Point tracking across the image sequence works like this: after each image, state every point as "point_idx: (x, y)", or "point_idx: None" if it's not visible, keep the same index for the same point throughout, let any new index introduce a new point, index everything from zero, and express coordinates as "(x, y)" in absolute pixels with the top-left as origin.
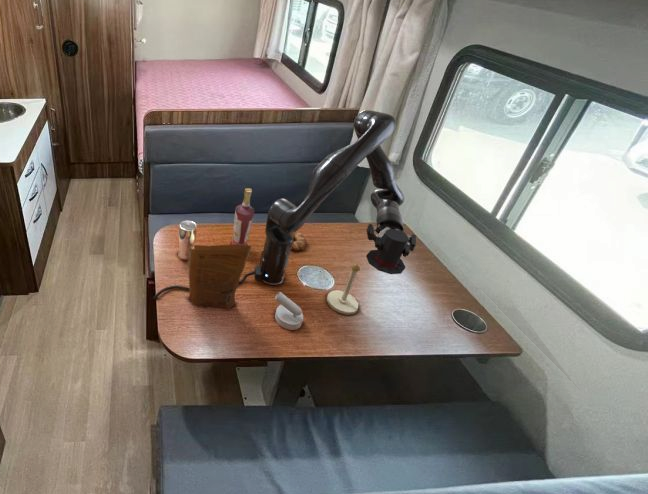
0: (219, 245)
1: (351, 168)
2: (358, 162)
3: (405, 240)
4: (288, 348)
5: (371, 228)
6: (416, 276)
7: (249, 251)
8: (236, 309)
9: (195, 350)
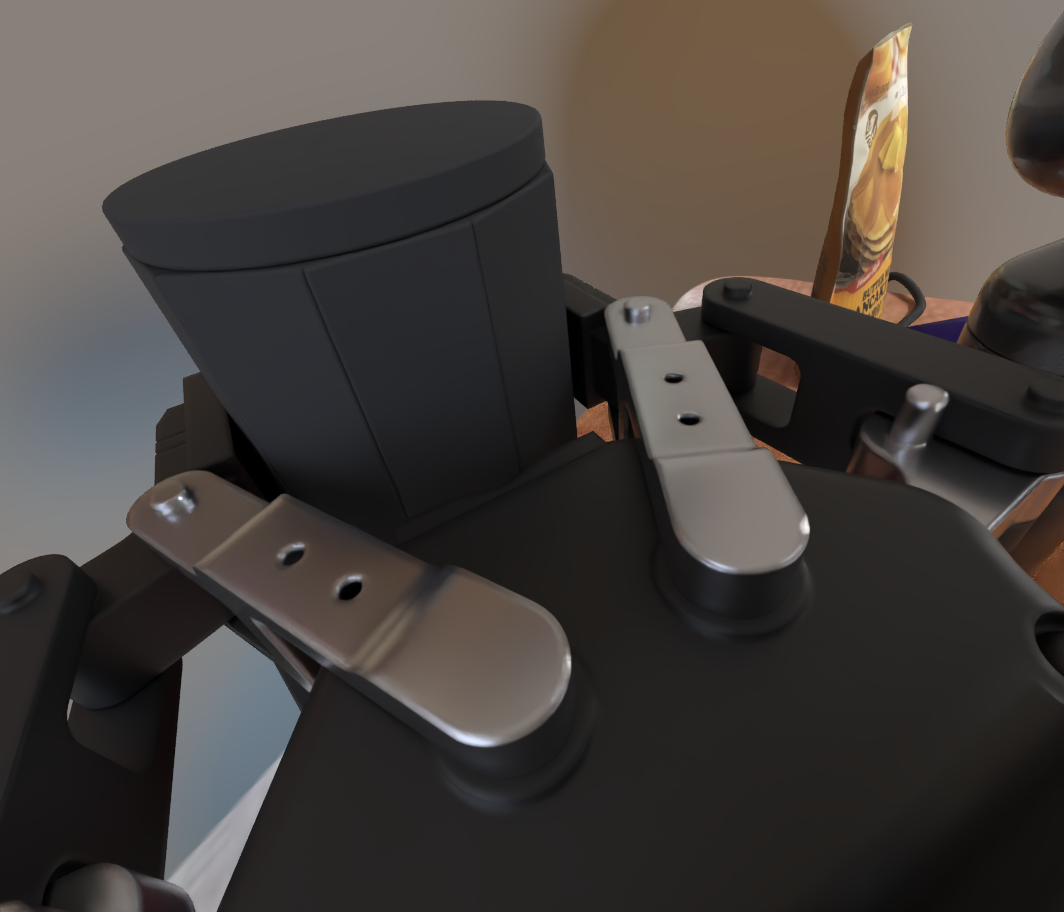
0: (893, 32)
1: None
2: None
3: (176, 165)
4: (592, 414)
5: (886, 344)
6: None
7: (860, 96)
8: (782, 383)
9: (694, 295)
